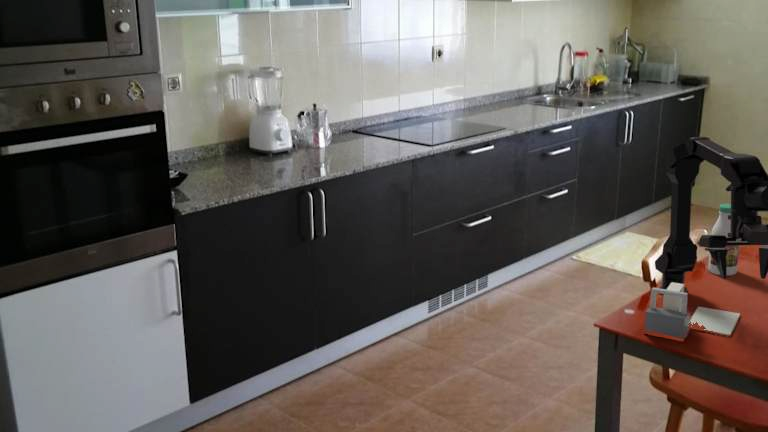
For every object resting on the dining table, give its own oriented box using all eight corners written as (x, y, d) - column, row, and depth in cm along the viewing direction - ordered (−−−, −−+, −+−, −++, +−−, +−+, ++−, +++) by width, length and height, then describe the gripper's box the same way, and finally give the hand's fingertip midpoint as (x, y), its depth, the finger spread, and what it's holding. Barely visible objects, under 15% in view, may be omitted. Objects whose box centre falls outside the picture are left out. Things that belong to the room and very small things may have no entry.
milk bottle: (702, 269, 232) (707, 204, 226) (722, 265, 234) (728, 200, 229) (721, 278, 225) (727, 210, 219) (742, 273, 227) (749, 207, 222)
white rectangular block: (668, 319, 199) (671, 282, 196) (681, 321, 198) (684, 284, 195) (660, 330, 193) (663, 292, 190) (674, 333, 191) (676, 295, 188)
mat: (698, 308, 205) (698, 306, 204) (739, 315, 199) (740, 313, 199) (686, 328, 193) (686, 326, 193) (730, 336, 188) (730, 334, 188)
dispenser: (650, 325, 196) (653, 283, 193) (688, 332, 191) (692, 289, 188) (644, 334, 191) (647, 291, 188) (683, 342, 186) (686, 298, 183)
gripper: (721, 211, 173) (720, 283, 173) (804, 211, 174) (803, 282, 174) (698, 211, 184) (697, 277, 184) (776, 210, 185) (775, 277, 185)
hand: (743, 278), depth 182 cm, fingers open, 9 cm apart
